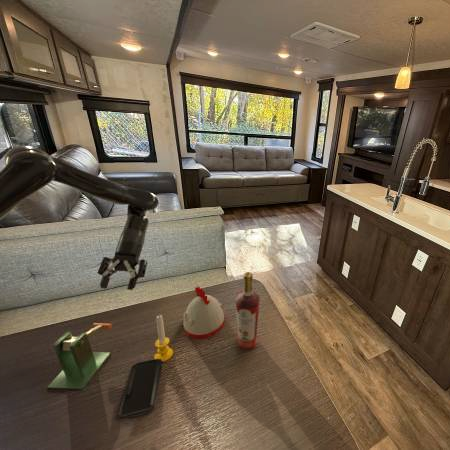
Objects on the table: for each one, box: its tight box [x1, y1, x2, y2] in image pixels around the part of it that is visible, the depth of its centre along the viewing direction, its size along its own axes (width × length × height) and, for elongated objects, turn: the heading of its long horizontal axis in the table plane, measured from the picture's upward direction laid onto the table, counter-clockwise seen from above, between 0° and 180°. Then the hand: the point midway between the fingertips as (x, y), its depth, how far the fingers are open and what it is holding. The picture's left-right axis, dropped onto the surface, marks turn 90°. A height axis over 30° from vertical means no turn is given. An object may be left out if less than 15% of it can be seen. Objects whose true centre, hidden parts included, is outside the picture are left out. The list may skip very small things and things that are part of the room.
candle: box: [153, 314, 174, 363], centre depth 74 cm, size 5×5×16 cm
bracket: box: [46, 331, 112, 391], centre depth 68 cm, size 11×9×13 cm
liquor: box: [235, 271, 260, 350], centre depth 79 cm, size 7×7×28 cm
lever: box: [63, 322, 113, 351], centre depth 71 cm, size 13×5×2 cm, turn 2°
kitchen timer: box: [182, 286, 225, 339], centre depth 87 cm, size 14×14×15 cm
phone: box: [118, 358, 163, 419], centre depth 68 cm, size 8×1×15 cm
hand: (116, 289), depth 83 cm, fingers open, 8 cm apart
